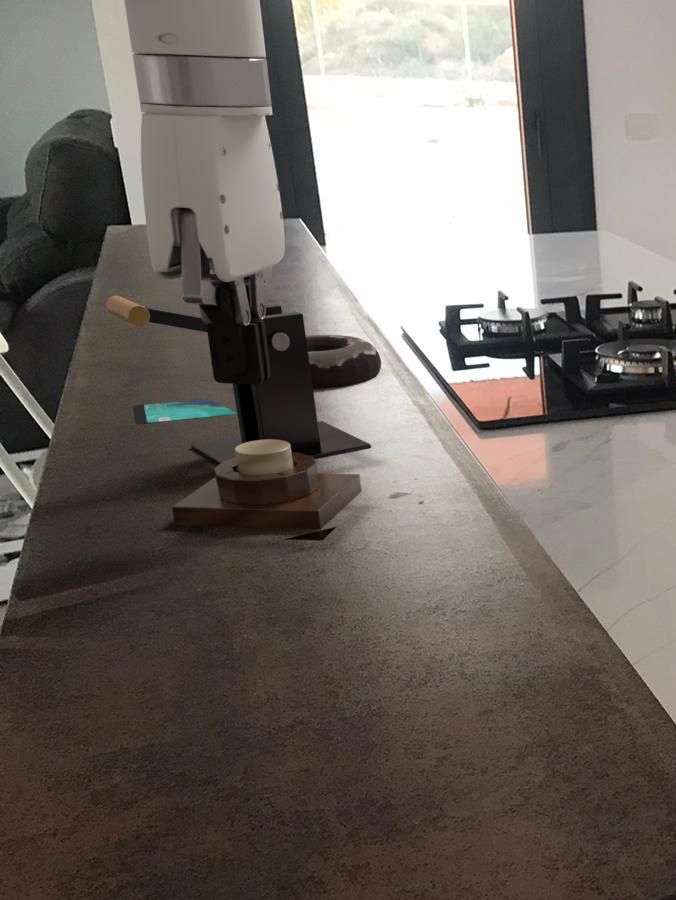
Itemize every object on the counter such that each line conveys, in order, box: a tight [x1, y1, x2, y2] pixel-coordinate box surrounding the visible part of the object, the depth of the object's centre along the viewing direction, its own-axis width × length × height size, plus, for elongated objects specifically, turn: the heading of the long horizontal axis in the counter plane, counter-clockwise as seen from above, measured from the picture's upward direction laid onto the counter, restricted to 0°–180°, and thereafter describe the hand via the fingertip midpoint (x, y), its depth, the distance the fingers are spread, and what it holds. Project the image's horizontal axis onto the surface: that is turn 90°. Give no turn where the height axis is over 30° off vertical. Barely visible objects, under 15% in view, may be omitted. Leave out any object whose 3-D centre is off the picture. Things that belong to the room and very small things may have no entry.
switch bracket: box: [190, 303, 372, 466], centre depth 101 cm, size 11×9×12 cm
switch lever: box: [105, 295, 207, 333], centre depth 96 cm, size 12×5×2 cm, turn 134°
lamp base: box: [171, 452, 362, 542], centre depth 90 cm, size 10×8×4 cm
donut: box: [306, 334, 382, 390], centre depth 125 cm, size 12×12×4 cm
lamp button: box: [235, 439, 294, 475], centre depth 89 cm, size 4×4×2 cm
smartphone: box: [132, 398, 237, 425], centre depth 115 cm, size 7×1×15 cm
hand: (243, 380), depth 86 cm, fingers closed
